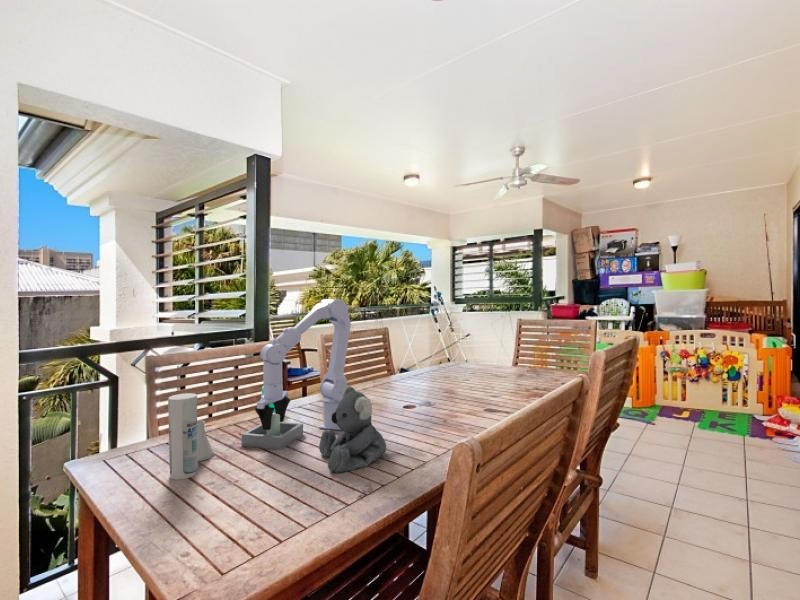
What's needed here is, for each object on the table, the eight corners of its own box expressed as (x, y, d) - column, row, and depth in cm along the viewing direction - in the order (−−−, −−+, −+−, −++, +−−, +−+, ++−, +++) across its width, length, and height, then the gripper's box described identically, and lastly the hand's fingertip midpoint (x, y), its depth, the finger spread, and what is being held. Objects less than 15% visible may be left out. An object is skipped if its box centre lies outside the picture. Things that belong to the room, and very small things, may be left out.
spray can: (178, 468, 106) (177, 393, 106) (203, 468, 106) (202, 393, 106) (163, 479, 100) (162, 399, 99) (189, 480, 100) (188, 399, 99)
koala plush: (316, 452, 117) (316, 385, 117) (375, 442, 124) (374, 379, 124) (330, 477, 101) (330, 399, 101) (396, 464, 108) (396, 392, 108)
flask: (219, 454, 116) (218, 419, 116) (199, 464, 109) (198, 427, 109) (199, 451, 118) (199, 417, 118) (178, 460, 111) (178, 424, 111)
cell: (282, 436, 128) (282, 412, 128) (275, 440, 124) (275, 416, 124) (271, 435, 129) (271, 411, 129) (264, 439, 125) (263, 415, 125)
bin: (303, 434, 132) (303, 423, 132) (281, 449, 119) (281, 438, 119) (266, 431, 135) (266, 420, 135) (241, 445, 122) (241, 434, 122)
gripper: (274, 377, 135) (274, 417, 135) (247, 387, 120) (248, 432, 121) (293, 378, 133) (293, 419, 133) (268, 388, 119) (269, 434, 119)
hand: (273, 425), depth 127 cm, fingers open, 7 cm apart
